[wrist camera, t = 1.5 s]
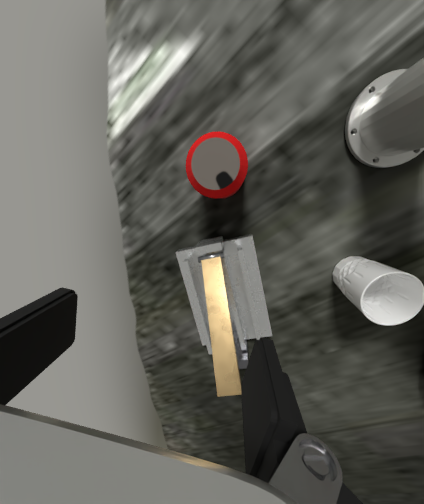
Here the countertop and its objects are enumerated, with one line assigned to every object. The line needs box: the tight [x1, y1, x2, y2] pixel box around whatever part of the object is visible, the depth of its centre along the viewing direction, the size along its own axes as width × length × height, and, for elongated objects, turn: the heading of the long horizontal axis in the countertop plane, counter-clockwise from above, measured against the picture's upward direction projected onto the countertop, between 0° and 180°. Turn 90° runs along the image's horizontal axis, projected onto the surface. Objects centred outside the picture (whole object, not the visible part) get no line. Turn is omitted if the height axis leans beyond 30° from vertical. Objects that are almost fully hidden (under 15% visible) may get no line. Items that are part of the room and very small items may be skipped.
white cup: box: [332, 256, 424, 326], centre depth 32 cm, size 8×8×10 cm
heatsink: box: [176, 234, 272, 369], centre depth 37 cm, size 14×22×8 cm, turn 14°
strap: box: [198, 252, 242, 397], centre depth 29 cm, size 4×18×1 cm
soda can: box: [186, 132, 248, 198], centre depth 30 cm, size 8×8×12 cm
